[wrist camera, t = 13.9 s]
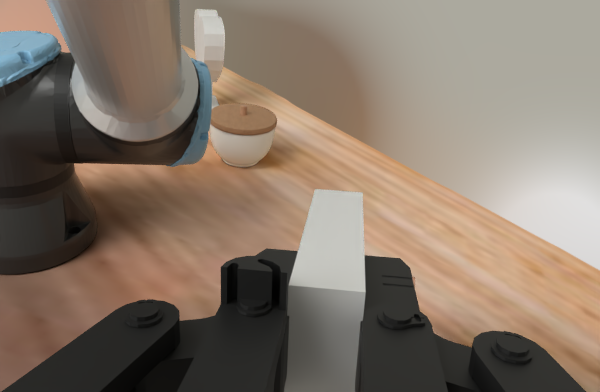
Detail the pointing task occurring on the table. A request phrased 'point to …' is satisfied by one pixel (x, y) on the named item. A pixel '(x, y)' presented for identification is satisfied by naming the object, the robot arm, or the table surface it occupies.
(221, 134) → the lidded jar
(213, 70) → the heart sculpture
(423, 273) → the table surface
